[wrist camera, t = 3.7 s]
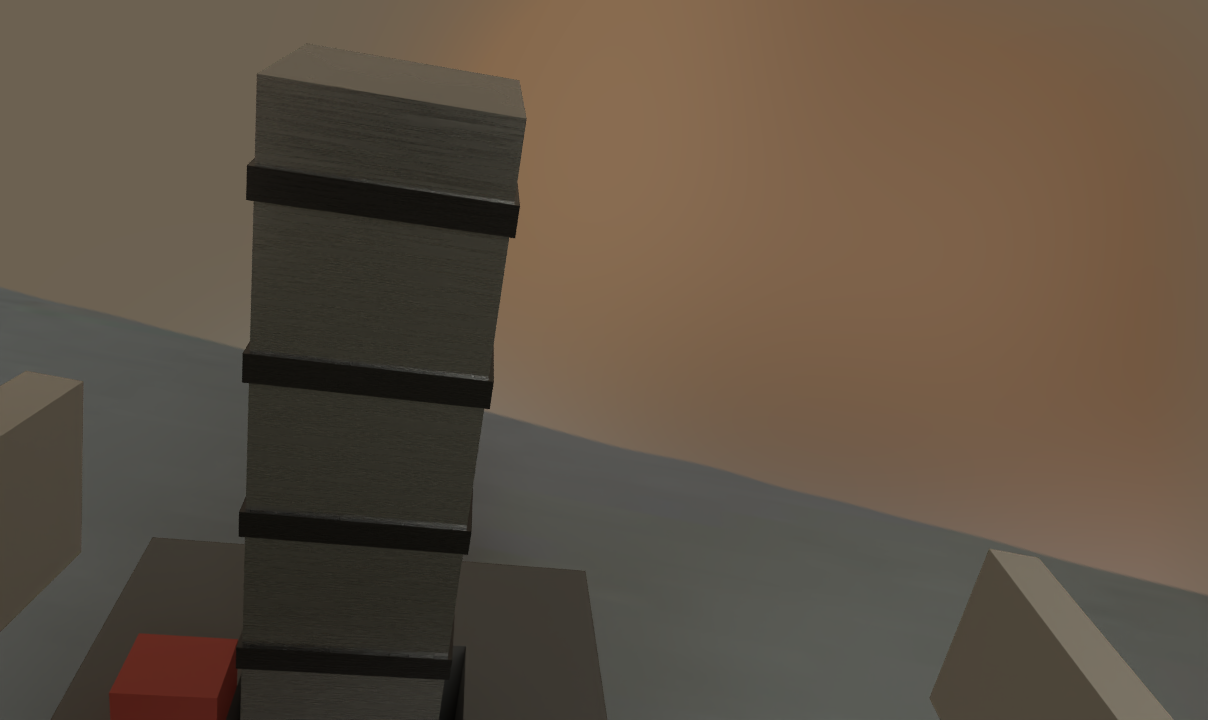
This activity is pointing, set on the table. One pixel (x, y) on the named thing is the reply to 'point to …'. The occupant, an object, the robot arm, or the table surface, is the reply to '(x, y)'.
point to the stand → (215, 621)
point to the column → (367, 373)
